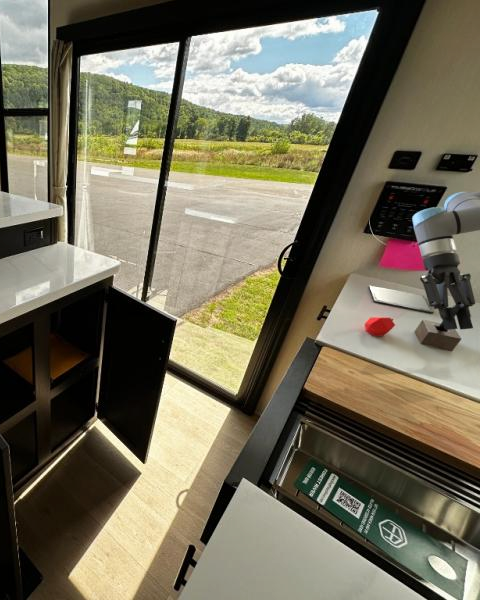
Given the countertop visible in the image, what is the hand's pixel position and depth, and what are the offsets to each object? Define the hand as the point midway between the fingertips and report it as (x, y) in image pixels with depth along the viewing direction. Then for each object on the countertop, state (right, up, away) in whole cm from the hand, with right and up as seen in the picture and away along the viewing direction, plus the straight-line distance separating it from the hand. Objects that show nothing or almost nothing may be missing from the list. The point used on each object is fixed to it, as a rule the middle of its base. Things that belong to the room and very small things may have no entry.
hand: (458, 328), depth 95 cm
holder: (0, -5, +8) cm, 9 cm away
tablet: (+10, +9, +28) cm, 31 cm away
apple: (-14, -3, +12) cm, 19 cm away
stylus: (0, -5, +8) cm, 9 cm away
